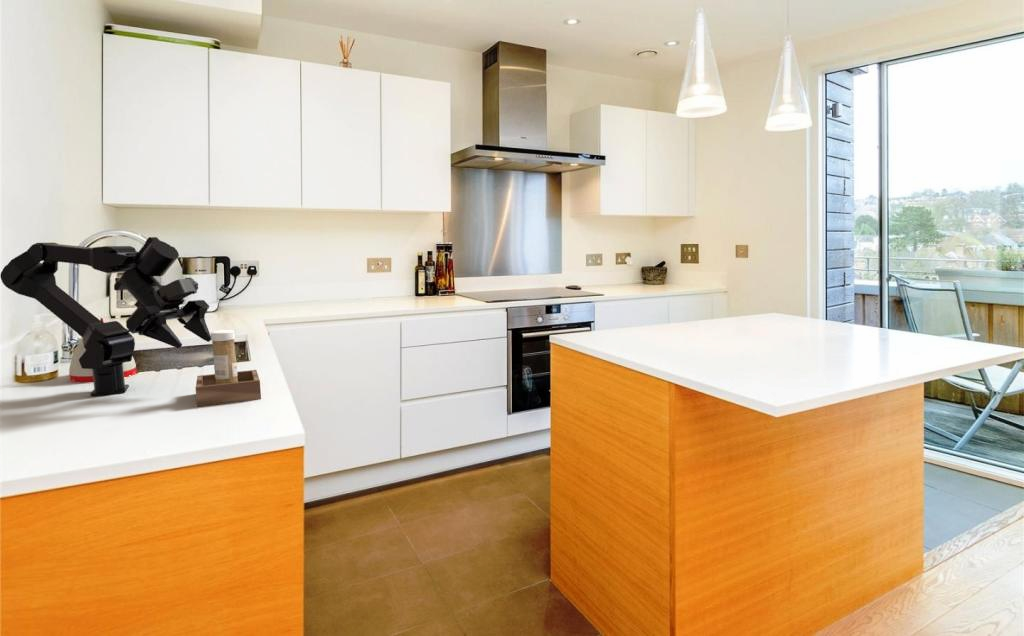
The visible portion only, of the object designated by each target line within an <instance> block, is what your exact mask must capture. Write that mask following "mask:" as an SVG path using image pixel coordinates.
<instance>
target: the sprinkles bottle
mask: <svg viewBox="0 0 1024 636" xmlns="http://www.w3.org/2000/svg"><path fill="white" fill-rule="evenodd" d="M210 335H211V343H212V352H213V353H212V354H213V355H212V357H213V358H212V359H213V370H214V374H215V378H216V384H225V383H234V382H238V379H237V372H238V367H237V356H236V348H235V339H236V334H235V330H233V329H219V330H214V331H211V332H210Z"/></svg>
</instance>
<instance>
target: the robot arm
mask: <svg viewBox="0 0 1024 636" xmlns="http://www.w3.org/2000/svg"><path fill="white" fill-rule="evenodd" d="M179 256H180V254H179V252H178V250H177V249H176V247H174V246H172V245H170V244H169V243H167V242H165V241H163V240H160V239H159V238H158V237H155V236H151V237H147V239H146V241H145V242H144V244H143V245H142V247H141V248H140V250H139V251H137V250H136V248H135V247H134V246H131V245H108V246H107V245H105V246H103V245H102V246H95V247H91V246H90V247H88V246H80V245H71V244H70V245H69V244H61V243H57V242H36V243H33V244H32V245H30V247H29V248H28V249H27V250H26V251H24V252H23V253H21V254H19V255H17V256H15V257H14V258H12V259H11V260H10V261H9V262H8V263H7V264H6V265H4V267H3V269H2V270H1V272H0V280H1V283H2V285H4V286H5V287H6V288H7V289H8V290H11V291H12V292H14V293H16V294H18V295H20V296H25V297H28V298H31V299H33V300H36V301H37V302H38V303H40V304H41V305H42V306H44V307H45V308H46V309H47V310H49V311H50V312H51V313H52V314H53V315H55V316H56V318H58V319H59V320H60V321H61V322H63V323H64V324H66V325H67V326H68V327H69V328H70V329H72V330H73V331H74V332H75V333H77V334H78V335H79V336H80V337H82V339H83V344H84V348H85V349H86V351H85V352H84V353H83V355H82V356H81V357H80V359H79V362H80V365H81V367H82V368H83V369H92V373H93V382H92V383H93V390H91V392H90V394H89V395H90V397H94V396H95V397H96V396H104V395H113V394H121V393H126V392H127V391H128V389H129V388H130V384H126V383H125V378H124V372H123V363H124V362H130V361H131V360H132V356H133V355H134V350H135V345H136V342H135V337H134V336H133V335H132V334H138V335H139V336H144V337H147V338H150V339H153V340H156V341H158V342H161V343H164V344H166V345H169V346H171V347H174V348H176V349H180V348H181V347H182V346H183V343H182V342H181V340H180V339H179V337H178V336H177V335H176V333H174V331H173V330H172V329H171V328H170V326H169V325H168V324H167V321H171V320H177V321H178V322H179V323H180V324H181V325H183V328H184V329H186V330H187V331H189V332H191V333H192V334H194V335H195V336H197V337H199V338H200V339H202V340H203V341H206V342H207V343H210V342H212V340H211V332H210V330H209V328H208V326H207V323H206V320H205V315H206V313H207V312H208V309H210V305H209V304H208V303H207V302H206V300H204V299H196V300H195V299H194V300H188V301H187V302H186V301H185V299H184V298H187V297H189V296H190V295H195V294H197V293H198V289H199V283H198V282H197V281H195V279H194V278H192V277H185V278H182V279H176V280H173V281H171V282H169V283H166V284H163V285H162V284H161V283H160V281H159V280H158V279H156V277H163V276H164V275H165V274H166V272H168V270H169V269H170V268H171V266H172V265H173V264H174V263H175V262H176V260H178V258H179ZM59 263H66V264H67V263H68V264H75V265H84V266H89V267H91V268H92V269H93V270H96V271H100V272H103V273H106V274H113V273H122V275H121V276H120V277H115V278H114V281H115V282H114V284H113V290H114V291H125V290H127V292H128V293H130V295H131V296H132V297H133V298H134V300H135V301H136V302H135V303H134V306H135V307H136V309H135V310H134V311H133V312H132V313H131V315H130V316H129V317H128V318H127V319H126V320H125V324H126V325H125V326H123V325H122V324H121V323H120V322H119V321H117V320H113V321H108V322H107V321H106V322H104V323H103V322H101V321H100V320H101V319H99V318H98V317H96V316H95V315H94V314H93V313H92V312H90V310H88V309H87V308H86V307H84V306H83V305H82V304H80V303H79V302H78V301H76V299H74V298H73V297H72V296H71V295H69V294H68V293H67V292H65V291H64V290H63V289H62V288H61V287H59V286H58V285H57V282H56V275H55V274H56V272H58V271H59V270H58V269H59ZM185 302H186V303H185ZM184 303H185V305H184V306H183V307H181V308H180V306H181V305H183V304H184ZM125 327H126V328H125ZM82 339H81V340H82ZM133 357H134V356H133Z"/></svg>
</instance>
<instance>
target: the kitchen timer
mask: <svg viewBox="0 0 1024 636" xmlns="http://www.w3.org/2000/svg"><path fill="white" fill-rule="evenodd" d="M99 320H100V321H101V322H103V323H105V322H104V319H103V317H100V319H99ZM85 351H86V349H85V348H84V344H83V339H81V340H80V341H79V343H78V344H77V346H76V347H75V348H73V350H71V352H72V357H71V360H70V365H69V369H68V371H69V372H68V376H69V381H70V380H71V381H72V382H71V381H70V382H71V383H76V382H92V383H94V382H93V373H92V369H83V368H82V367H81V365H80V362H79V359H80V357H81V356H82V355H83V353H84V352H85ZM137 371H138V369H137V365H136V361H135V358H134V356H132V360H131V361H130V362H124V363H123V372H124V377H126V378H128V377H132V376H134V375H136V374H137ZM129 375H131V376H129Z"/></svg>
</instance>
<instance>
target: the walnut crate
mask: <svg viewBox="0 0 1024 636" xmlns="http://www.w3.org/2000/svg"><path fill="white" fill-rule="evenodd" d="M237 379H238V382H234V383H225V384H216V378H215V373H212V374H203V375H197V377H196V382H195V383H196V384H195V396H196V407H197V408H200V407H209V406H215V405H222V404H223V405H224V404H230V403H240V402H247V401H255V400H261V399H262V393H261V380H260V377H259V374H258V370H257V369H252V370H249V369H248V370H239V371H237Z"/></svg>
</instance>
